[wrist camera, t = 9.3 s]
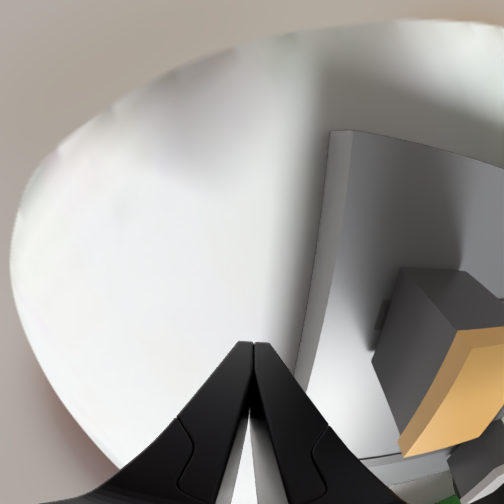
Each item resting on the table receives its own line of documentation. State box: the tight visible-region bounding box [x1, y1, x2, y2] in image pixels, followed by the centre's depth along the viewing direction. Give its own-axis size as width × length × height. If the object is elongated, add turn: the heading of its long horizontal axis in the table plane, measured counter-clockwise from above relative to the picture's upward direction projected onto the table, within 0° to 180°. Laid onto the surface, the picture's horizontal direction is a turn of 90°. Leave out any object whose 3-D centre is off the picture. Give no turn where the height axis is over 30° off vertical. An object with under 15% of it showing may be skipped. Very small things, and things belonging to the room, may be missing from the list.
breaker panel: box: [294, 130, 504, 486], centre depth 13 cm, size 18×22×3 cm
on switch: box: [446, 419, 504, 504], centre depth 12 cm, size 3×4×4 cm
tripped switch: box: [371, 267, 504, 458], centre depth 8 cm, size 3×4×4 cm
